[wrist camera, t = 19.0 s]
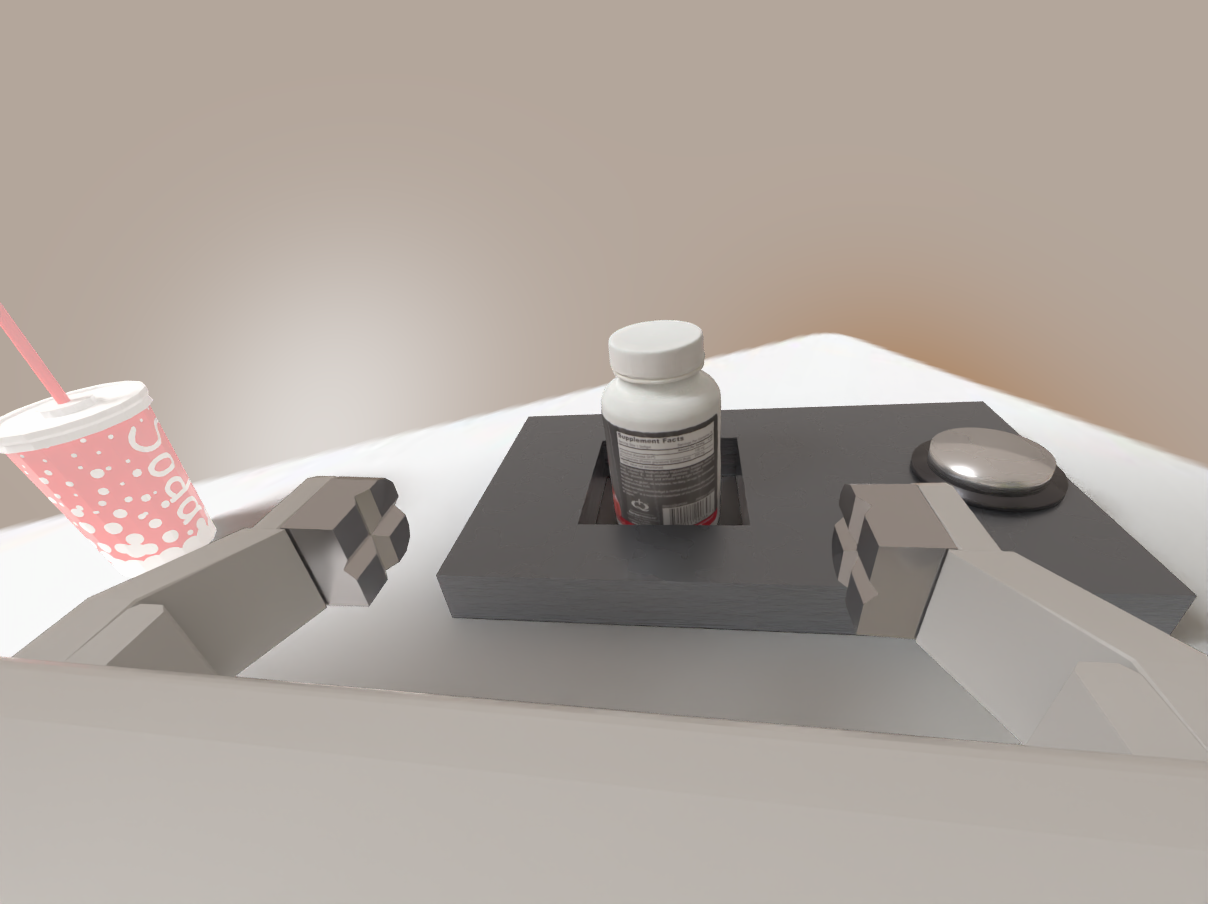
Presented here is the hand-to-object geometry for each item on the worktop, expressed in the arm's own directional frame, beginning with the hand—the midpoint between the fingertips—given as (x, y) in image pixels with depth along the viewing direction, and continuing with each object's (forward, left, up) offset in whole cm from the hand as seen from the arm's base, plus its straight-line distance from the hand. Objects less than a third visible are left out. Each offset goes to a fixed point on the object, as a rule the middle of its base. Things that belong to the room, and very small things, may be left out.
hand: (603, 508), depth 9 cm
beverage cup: (-28, +11, -11) cm, 32 cm away
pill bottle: (0, +14, -11) cm, 18 cm away
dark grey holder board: (+4, +14, -11) cm, 18 cm away
